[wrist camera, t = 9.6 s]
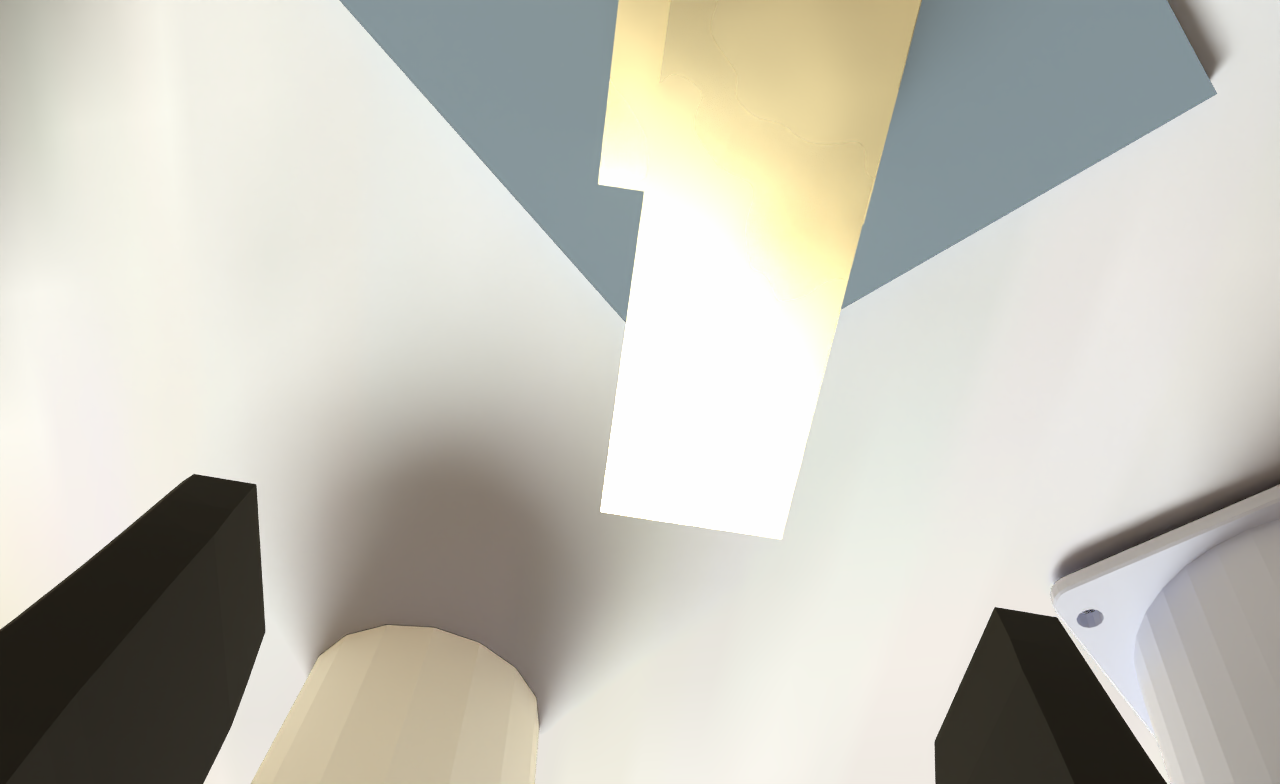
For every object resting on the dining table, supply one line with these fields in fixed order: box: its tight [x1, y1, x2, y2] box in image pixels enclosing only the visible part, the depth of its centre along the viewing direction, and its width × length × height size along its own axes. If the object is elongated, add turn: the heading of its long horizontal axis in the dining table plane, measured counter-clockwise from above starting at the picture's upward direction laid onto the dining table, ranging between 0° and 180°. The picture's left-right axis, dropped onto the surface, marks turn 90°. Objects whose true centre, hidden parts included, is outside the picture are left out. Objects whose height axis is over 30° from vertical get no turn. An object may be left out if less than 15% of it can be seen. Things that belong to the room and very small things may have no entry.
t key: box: [598, 0, 922, 539], centre depth 16 cm, size 9×4×6 cm, turn 173°
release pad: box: [340, 0, 1217, 322], centre depth 19 cm, size 10×10×1 cm
